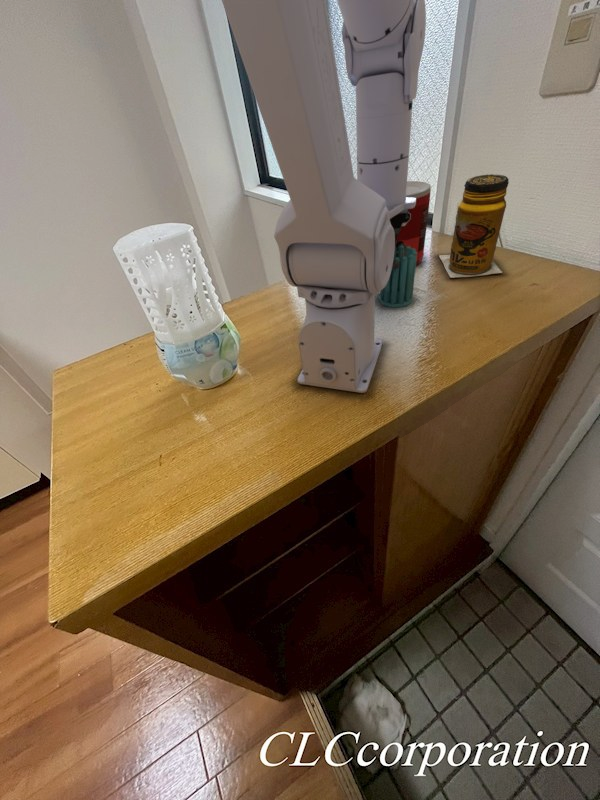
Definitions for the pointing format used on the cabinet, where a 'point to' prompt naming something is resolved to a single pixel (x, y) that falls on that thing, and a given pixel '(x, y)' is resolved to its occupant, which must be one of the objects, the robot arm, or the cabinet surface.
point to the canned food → (415, 219)
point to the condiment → (477, 227)
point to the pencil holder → (400, 278)
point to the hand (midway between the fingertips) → (379, 274)
